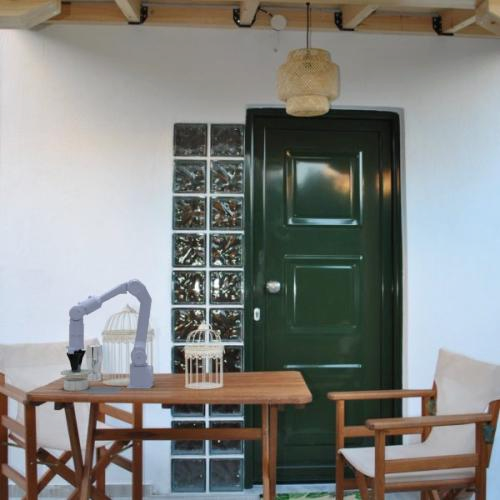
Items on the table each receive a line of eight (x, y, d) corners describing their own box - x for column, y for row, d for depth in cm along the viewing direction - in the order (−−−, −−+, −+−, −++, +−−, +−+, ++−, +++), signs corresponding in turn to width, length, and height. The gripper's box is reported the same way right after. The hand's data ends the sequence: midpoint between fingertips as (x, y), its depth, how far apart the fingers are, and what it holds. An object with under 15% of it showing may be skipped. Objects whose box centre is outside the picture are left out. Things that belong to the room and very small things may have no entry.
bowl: (90, 387, 264) (90, 377, 264) (83, 392, 255) (83, 381, 255) (68, 387, 264) (68, 377, 264) (61, 391, 255) (61, 381, 255)
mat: (123, 388, 262) (123, 387, 262) (115, 394, 249) (115, 393, 249) (92, 387, 263) (92, 386, 263) (82, 394, 250) (82, 393, 250)
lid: (95, 370, 265) (95, 362, 265) (86, 375, 253) (86, 367, 253) (66, 370, 266) (66, 362, 266) (56, 375, 254) (56, 366, 254)
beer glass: (98, 382, 274) (98, 346, 274) (83, 381, 275) (83, 346, 276) (105, 379, 281) (105, 344, 281) (90, 378, 282) (90, 344, 283)
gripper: (72, 333, 267) (71, 366, 267) (60, 337, 253) (60, 372, 252) (89, 333, 267) (88, 366, 267) (78, 337, 252) (78, 372, 252)
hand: (76, 369), depth 259 cm, fingers closed on lid, 4 cm apart
